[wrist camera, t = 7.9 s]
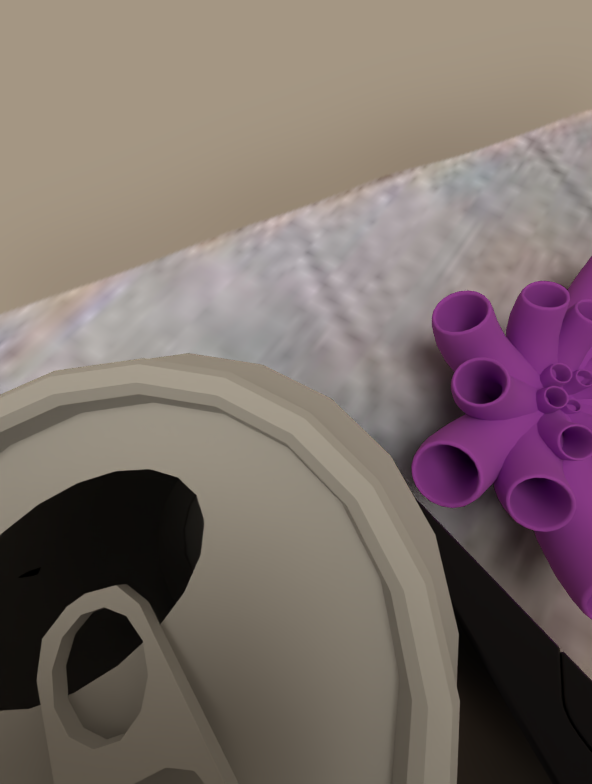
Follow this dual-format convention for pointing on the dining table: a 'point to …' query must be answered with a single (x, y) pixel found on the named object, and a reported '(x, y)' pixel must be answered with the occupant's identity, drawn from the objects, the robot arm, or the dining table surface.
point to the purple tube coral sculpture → (521, 418)
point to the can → (214, 587)
